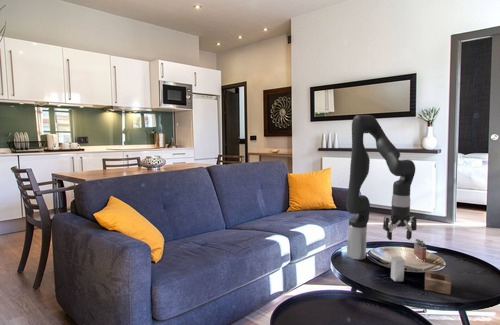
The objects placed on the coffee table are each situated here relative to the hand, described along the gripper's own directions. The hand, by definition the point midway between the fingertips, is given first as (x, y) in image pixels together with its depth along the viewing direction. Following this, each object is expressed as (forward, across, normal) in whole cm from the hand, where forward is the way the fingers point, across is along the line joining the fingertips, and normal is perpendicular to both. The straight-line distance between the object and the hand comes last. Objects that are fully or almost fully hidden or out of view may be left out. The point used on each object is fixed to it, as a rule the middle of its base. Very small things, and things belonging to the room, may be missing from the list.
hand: (399, 239), depth 147 cm
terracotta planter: (+19, +23, +22) cm, 37 cm away
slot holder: (+19, +14, -8) cm, 25 cm away
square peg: (+19, 0, 0) cm, 19 cm away
